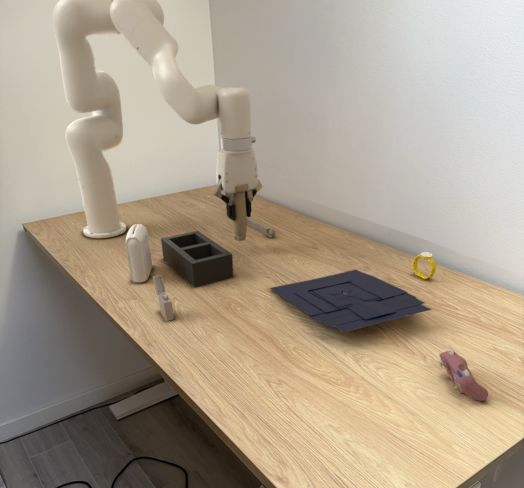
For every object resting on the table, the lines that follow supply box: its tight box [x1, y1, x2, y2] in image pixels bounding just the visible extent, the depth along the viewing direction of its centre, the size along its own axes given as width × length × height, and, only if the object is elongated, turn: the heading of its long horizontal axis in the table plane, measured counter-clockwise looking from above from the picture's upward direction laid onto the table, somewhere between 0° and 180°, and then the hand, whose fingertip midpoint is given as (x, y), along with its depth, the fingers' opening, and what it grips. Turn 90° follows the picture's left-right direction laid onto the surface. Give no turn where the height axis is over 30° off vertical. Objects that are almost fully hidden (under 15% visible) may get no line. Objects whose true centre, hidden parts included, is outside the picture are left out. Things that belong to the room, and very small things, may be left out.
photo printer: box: [125, 223, 153, 284], centre depth 125 cm, size 10×4×12 cm, turn 2°
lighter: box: [152, 274, 175, 322], centre depth 109 cm, size 7×2×8 cm, turn 26°
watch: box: [412, 251, 437, 280], centre depth 123 cm, size 6×3×6 cm, turn 33°
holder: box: [160, 230, 234, 288], centre depth 130 cm, size 20×11×6 cm, turn 31°
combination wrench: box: [247, 217, 276, 238], centre depth 154 cm, size 4×1×20 cm
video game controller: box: [438, 349, 489, 402], centre depth 86 cm, size 10×5×7 cm, turn 5°
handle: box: [231, 184, 248, 242], centre depth 135 cm, size 5×6×15 cm
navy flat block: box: [269, 269, 432, 333], centre depth 112 cm, size 24×30×4 cm
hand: (239, 216), depth 135 cm, fingers closed on handle, 3 cm apart
